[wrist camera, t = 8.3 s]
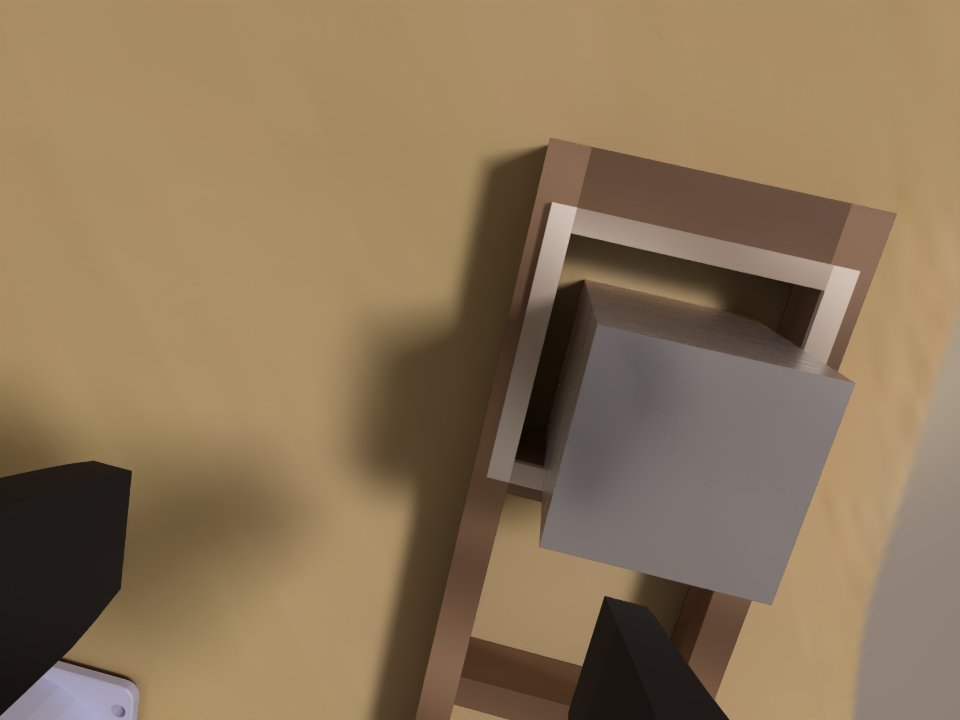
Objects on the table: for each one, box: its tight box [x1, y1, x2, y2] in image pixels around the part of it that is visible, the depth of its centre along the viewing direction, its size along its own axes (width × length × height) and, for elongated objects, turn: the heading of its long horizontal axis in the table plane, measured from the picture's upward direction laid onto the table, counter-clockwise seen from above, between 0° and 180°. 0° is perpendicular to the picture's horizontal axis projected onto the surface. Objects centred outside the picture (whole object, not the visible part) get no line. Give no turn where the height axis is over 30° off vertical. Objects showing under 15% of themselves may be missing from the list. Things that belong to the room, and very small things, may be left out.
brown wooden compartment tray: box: [415, 138, 897, 720], centre depth 19 cm, size 24×8×2 cm, turn 168°
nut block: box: [539, 280, 855, 605], centre depth 15 cm, size 4×4×6 cm
